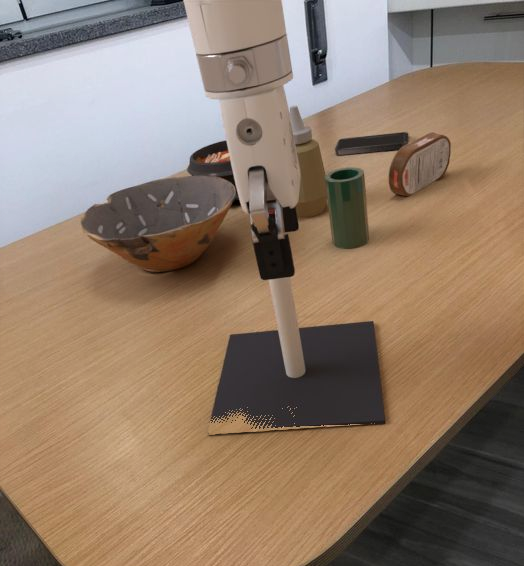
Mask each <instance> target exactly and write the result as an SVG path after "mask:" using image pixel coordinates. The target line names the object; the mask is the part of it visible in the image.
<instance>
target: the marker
mask: <svg viewBox="0 0 524 566" xmlns="http://www.w3.org/2000/svg"><path fill="white" fill-rule="evenodd" d="M268 284H269V289H270V295H271V301H272V306H273V312H274V316H275V321H276V327H277V330H278V333H279V338H280V343H281V348H282V354H283V359H284V364H285V370H286V374H287V376H289V377H291V378H298V377H301V376H302V375H304V374H305V371H306V370H305V364H304V358H303V352H302V346H301V340H300V334H299V328H300V327H299V321H298V316H297V310H296V305H295V298H294V292H293V287H292V286H293V285H292V278H291V277H286V278H278V279H271V280H268Z"/></svg>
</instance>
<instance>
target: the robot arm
mask: <svg viewBox="0 0 524 566" xmlns="http://www.w3.org/2000/svg"><path fill="white" fill-rule="evenodd" d="M182 1H183V5H184V10H185V14H186V18H187V23H188V26H189V30H190V33H191V38H192V43H193V47H194V51H195V56H196V60H197V65H198V69H199V73H200V77H201V82H202V86H203V87H202V88H203V90H204V94H205V97H206V98H207V99H210V100H218V103H219V108H220V113H221V119H222V126H223V130H224V135H225V140H226V141H227V146H228V151H229V156H230V161H231V166H232V170H233V175H234V179H235V184H236V188H237V192H238V196H239V200H238V201H239V204H240V206H241V210H242V212H244V213H245V214H247V215H249V219H250V229H251V239H252V246H253V250H254V255H255V259H256V260H255V261H256V265H257V270H258V273H259V277H260V279H261V280H262V281H269V280H271V279H278V278H286V277H290V278H291V277H294V276H295V273H296V268H295V263H294V259H293V253H292V247H291V242H290V241H291V240H290V237H289V236H290V235H289V233H293V232H298V230H299V225H300V224H299V218H297V212H296V204H297V203H298V199H299V190H300V177H301V174H300V167H299V162H298V157H297V152H296V146H295V141H294V136H293V130H292V124H291V119H290V107H289V104H288V99H287V95H286V91H285V85H286V84H288V83H289V82H291V81H292V80H293V79H294V73H293V65H292V59H291V53H290V45H289V40H288V34H287V29H286V28H287V27H286V21H285V14H284V7H283V1H282V0H182Z"/></svg>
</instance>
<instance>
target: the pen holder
mask: <svg viewBox="0 0 524 566" xmlns="http://www.w3.org/2000/svg"><path fill="white" fill-rule="evenodd" d="M325 174H326V175H325V183H326V192H327V208H328V217H329V218H328V219H329V227H330V234H331V242H332V246H334V247H335V248H338V249H340V250H341V249H342V250H353V249H357V248H361V247H363V246H364V245H366V244H368V243H369V241H370V230H369V215H368V205H367V204H368V203H367V194H366V193H367V191H366V180H365V179H366V176H365V170H363V169H362V168H359V167H340V168H337V169H334V170H331V171H329V172H328V173H325Z"/></svg>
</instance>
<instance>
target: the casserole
mask: <svg viewBox="0 0 524 566" xmlns="http://www.w3.org/2000/svg"><path fill="white" fill-rule="evenodd" d="M186 171H187V173H188V174H189V176H215V177H219V178H223V179H225V180H227V181H229V182H230V183H232V184H233V185H234V187H235V190H236V195H235V198H234V201H233V202H235V201H240V200H239V196H238V192H237V188H236V184H235V179H234V175H233V170H232V166H231V161H230V156H229V151H228V146H227V141H226V139H225V140H221V141H217V142H213V143H211V144H208V145H205V146H203V147H201V148H199V149H197V150H195V151H194V152H193V153H191V155H190V156H189V164H188V166H187V168H186Z"/></svg>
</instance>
